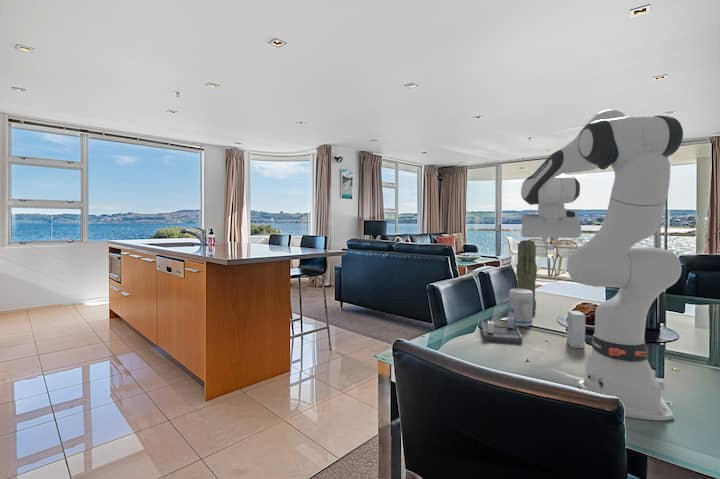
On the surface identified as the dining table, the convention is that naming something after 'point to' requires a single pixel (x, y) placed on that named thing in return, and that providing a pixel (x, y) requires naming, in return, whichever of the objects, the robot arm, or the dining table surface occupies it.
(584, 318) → the skincare box
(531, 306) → the supplement tub
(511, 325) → the fader slate
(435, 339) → the dining table surface
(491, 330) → the fader ivory
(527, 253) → the green cactus
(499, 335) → the grey tray
